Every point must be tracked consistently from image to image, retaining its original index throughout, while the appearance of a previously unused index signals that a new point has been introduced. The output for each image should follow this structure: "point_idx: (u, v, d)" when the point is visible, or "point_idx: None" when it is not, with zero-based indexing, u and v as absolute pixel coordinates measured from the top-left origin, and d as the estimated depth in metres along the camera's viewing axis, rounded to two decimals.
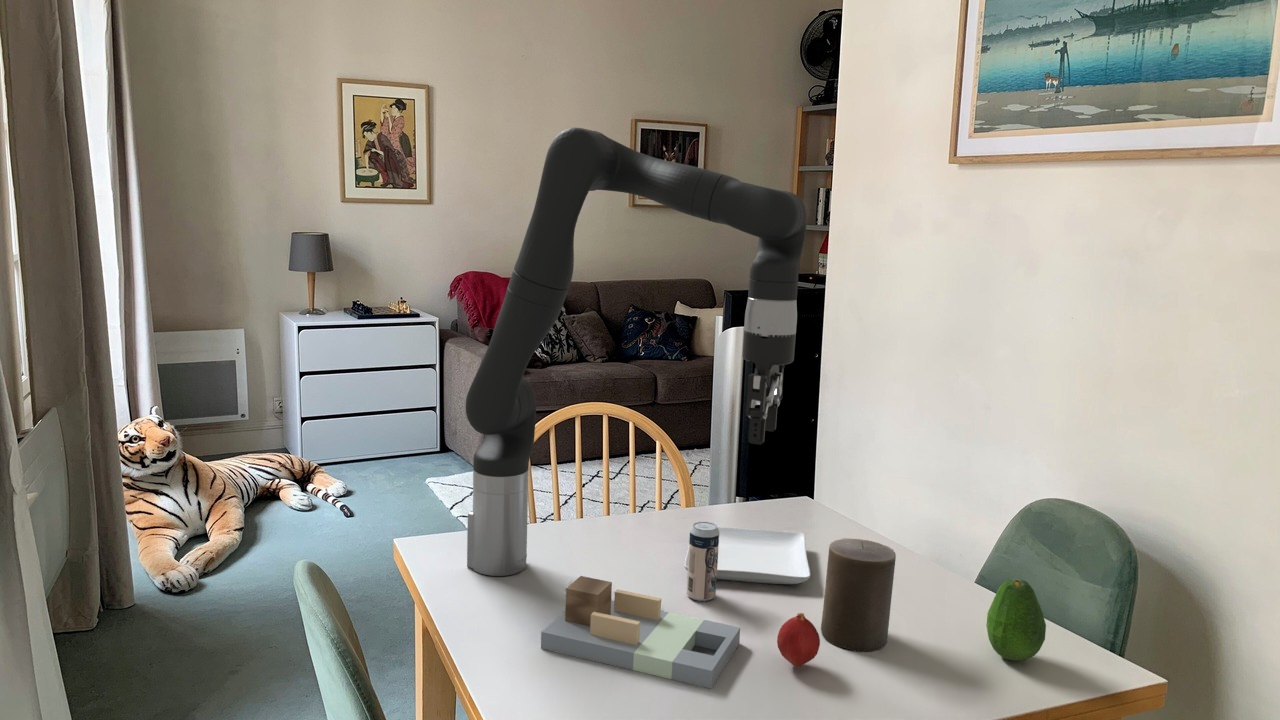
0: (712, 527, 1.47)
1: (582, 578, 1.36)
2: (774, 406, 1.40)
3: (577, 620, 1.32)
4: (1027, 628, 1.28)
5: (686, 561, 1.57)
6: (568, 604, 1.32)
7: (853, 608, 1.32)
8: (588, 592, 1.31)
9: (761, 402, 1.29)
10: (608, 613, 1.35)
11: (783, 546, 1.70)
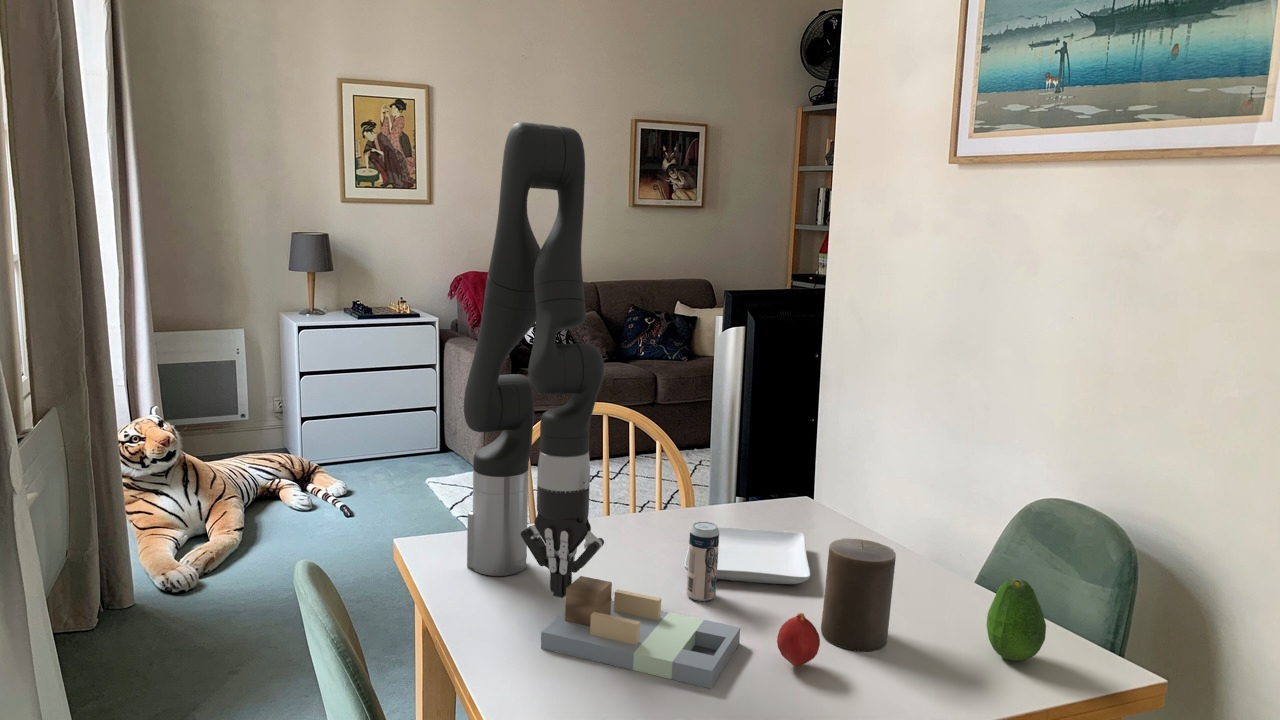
0: (712, 527, 1.47)
1: (582, 578, 1.36)
2: None
3: (577, 620, 1.32)
4: (1027, 628, 1.28)
5: (686, 561, 1.57)
6: (568, 604, 1.32)
7: (853, 608, 1.32)
8: (588, 592, 1.31)
9: (589, 559, 1.34)
10: (608, 613, 1.35)
11: (783, 546, 1.70)
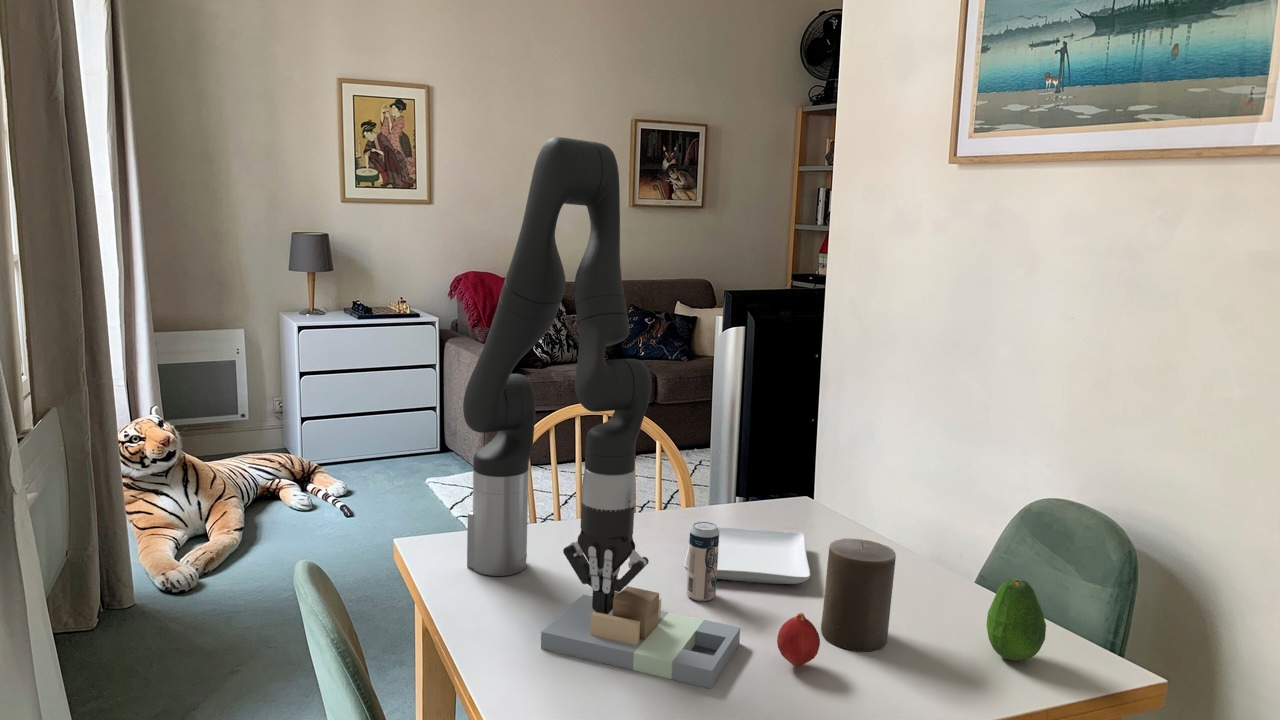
0: (712, 527, 1.47)
1: (628, 588, 1.33)
2: None
3: None
4: (1027, 628, 1.28)
5: (686, 561, 1.57)
6: None
7: (853, 608, 1.32)
8: (636, 603, 1.28)
9: None
10: (655, 625, 1.32)
11: (783, 546, 1.70)
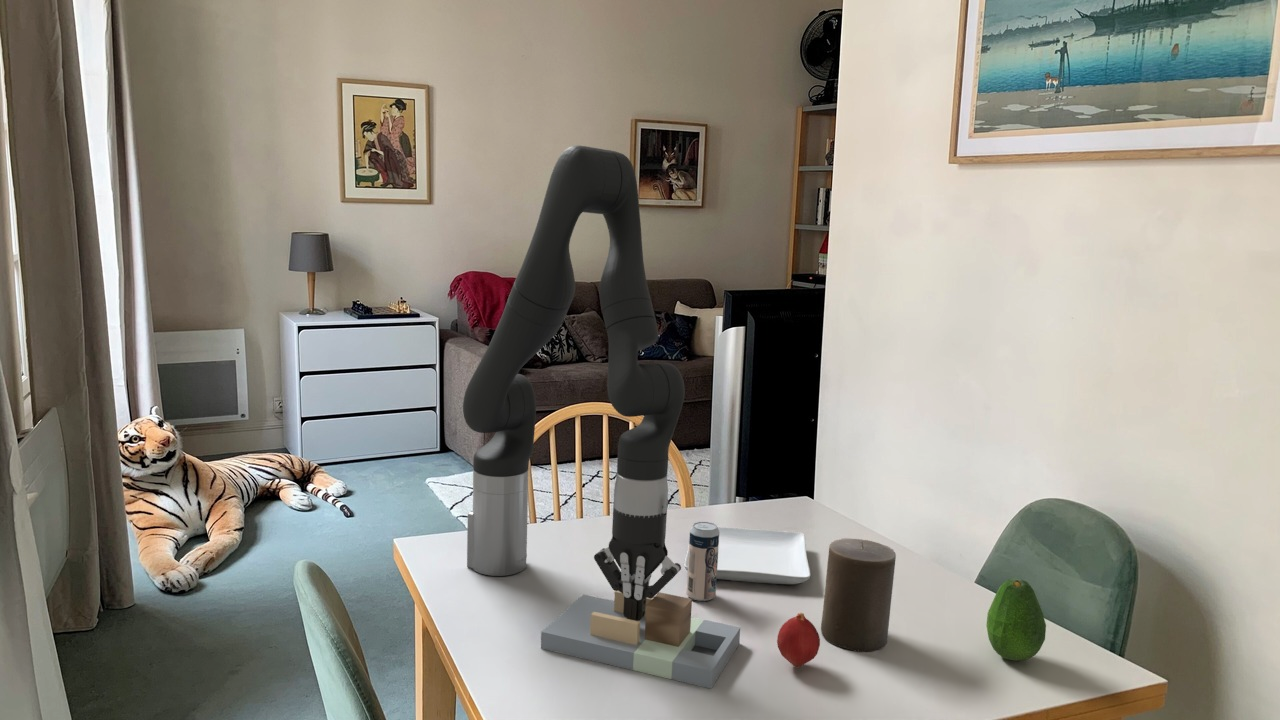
0: (712, 527, 1.47)
1: (660, 594, 1.31)
2: None
3: (658, 638, 1.27)
4: (1027, 628, 1.28)
5: (686, 561, 1.57)
6: (649, 622, 1.28)
7: (853, 608, 1.32)
8: (670, 609, 1.26)
9: None
10: (688, 631, 1.30)
11: (783, 546, 1.70)
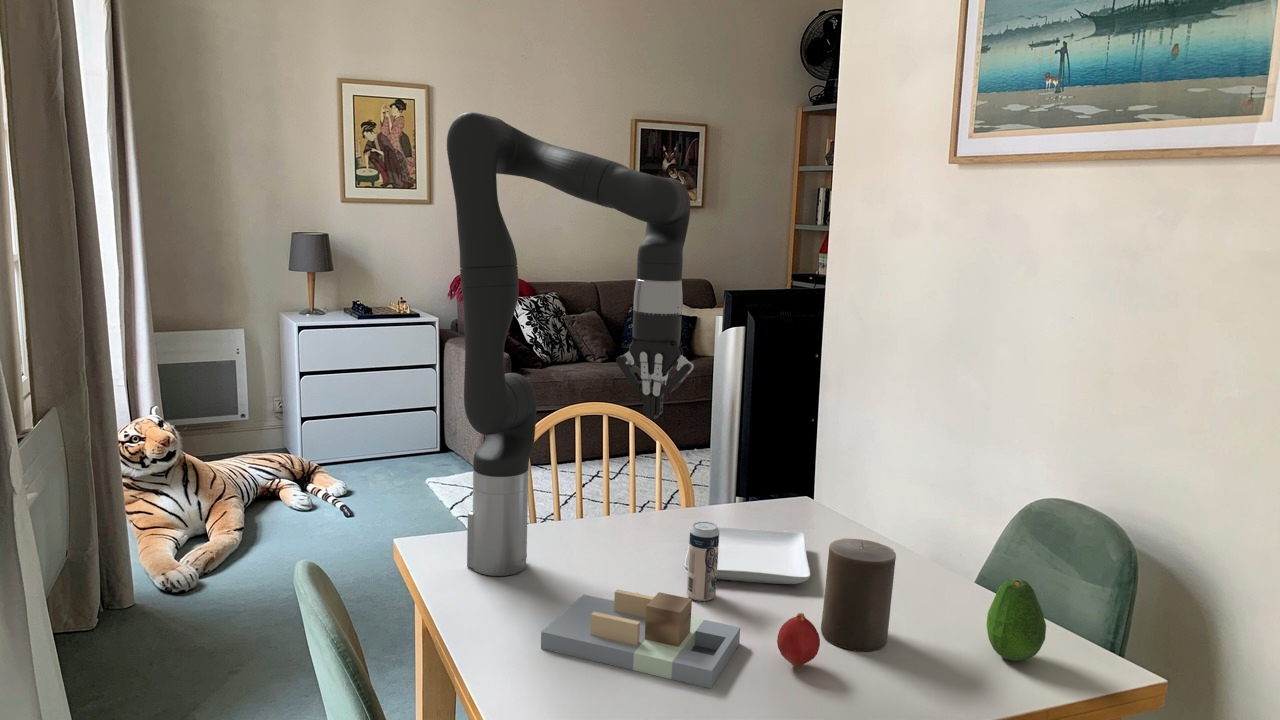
0: (712, 527, 1.47)
1: (660, 594, 1.31)
2: (653, 392, 1.46)
3: (658, 638, 1.27)
4: (1027, 628, 1.28)
5: (686, 561, 1.57)
6: (649, 622, 1.28)
7: (853, 608, 1.32)
8: (670, 609, 1.26)
9: (680, 382, 1.44)
10: (688, 631, 1.30)
11: (783, 546, 1.70)
